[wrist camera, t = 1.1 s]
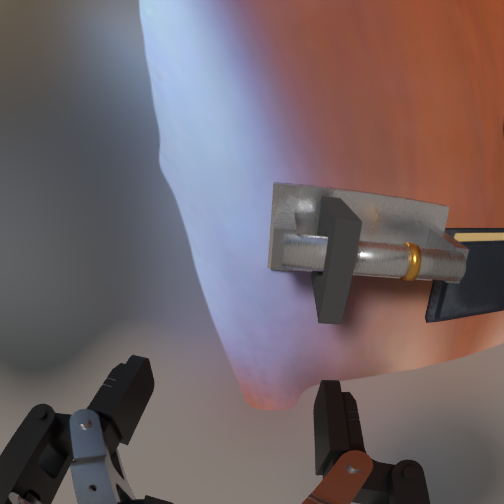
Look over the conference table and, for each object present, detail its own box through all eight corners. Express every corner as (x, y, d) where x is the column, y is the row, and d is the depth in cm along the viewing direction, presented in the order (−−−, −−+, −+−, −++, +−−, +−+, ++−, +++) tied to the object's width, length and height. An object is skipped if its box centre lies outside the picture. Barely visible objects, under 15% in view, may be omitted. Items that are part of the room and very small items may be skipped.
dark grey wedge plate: (340, 198, 28) (362, 221, 20) (328, 277, 32) (341, 324, 23) (321, 195, 28) (336, 218, 20) (311, 276, 32) (318, 323, 23)
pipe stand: (444, 204, 30) (488, 228, 21) (427, 276, 34) (460, 315, 25) (273, 182, 32) (269, 198, 23) (268, 263, 36) (261, 306, 26)
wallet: (425, 327, 35) (447, 226, 30) (420, 320, 37) (440, 221, 32) (512, 314, 33) (535, 230, 27) (506, 309, 35) (528, 227, 29)
